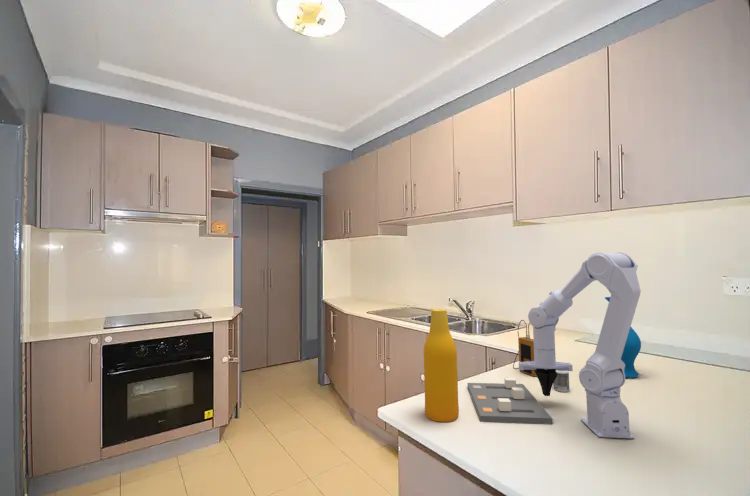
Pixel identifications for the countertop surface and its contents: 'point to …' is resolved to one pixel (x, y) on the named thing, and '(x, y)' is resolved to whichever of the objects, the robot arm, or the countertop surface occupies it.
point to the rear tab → (510, 382)
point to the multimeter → (526, 351)
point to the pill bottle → (562, 381)
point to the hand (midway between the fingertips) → (546, 394)
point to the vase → (630, 352)
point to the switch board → (520, 408)
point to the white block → (504, 404)
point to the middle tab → (518, 393)
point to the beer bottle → (440, 370)
